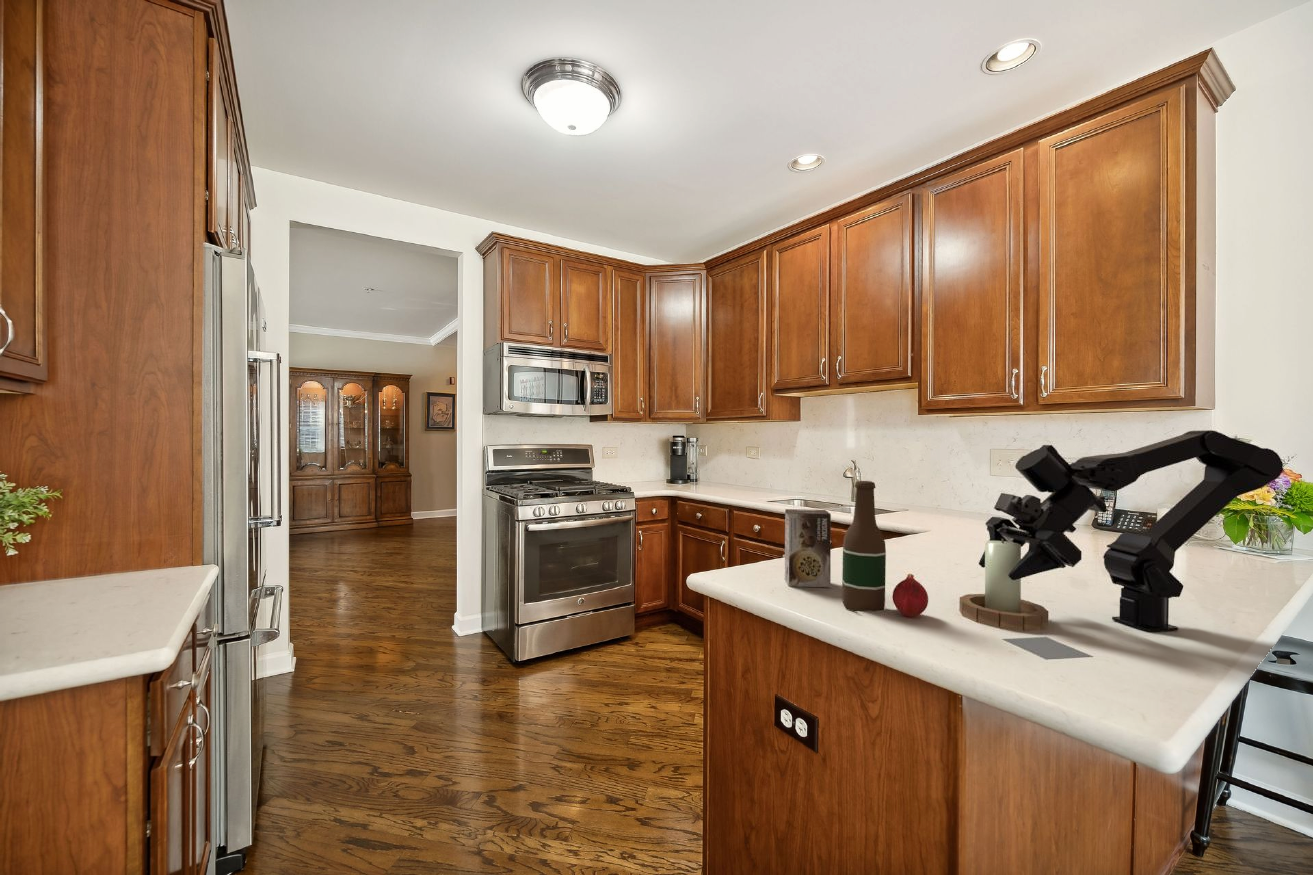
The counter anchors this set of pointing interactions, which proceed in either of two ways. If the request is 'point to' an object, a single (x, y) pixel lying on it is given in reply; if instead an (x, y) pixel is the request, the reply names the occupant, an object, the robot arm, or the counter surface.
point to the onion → (910, 597)
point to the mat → (1047, 648)
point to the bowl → (1004, 614)
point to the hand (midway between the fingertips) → (994, 571)
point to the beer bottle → (864, 556)
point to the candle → (1002, 576)
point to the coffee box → (807, 548)
